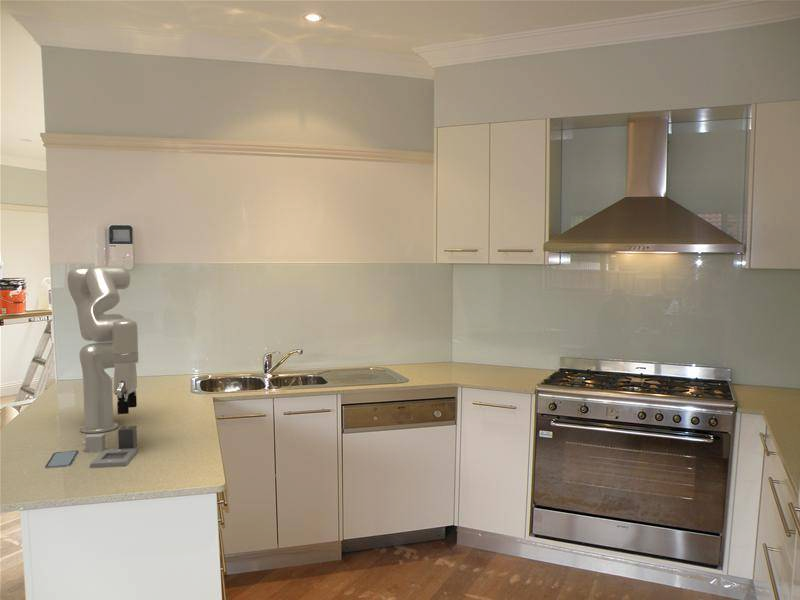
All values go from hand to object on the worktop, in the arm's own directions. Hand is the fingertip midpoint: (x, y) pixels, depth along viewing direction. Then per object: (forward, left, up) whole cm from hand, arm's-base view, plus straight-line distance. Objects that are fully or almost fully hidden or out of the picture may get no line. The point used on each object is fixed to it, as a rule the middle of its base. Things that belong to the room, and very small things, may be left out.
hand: (127, 410), depth 202 cm
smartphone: (+8, -17, -13) cm, 23 cm away
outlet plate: (+11, -1, -13) cm, 17 cm away
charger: (0, 0, -13) cm, 13 cm away
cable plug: (0, -10, -13) cm, 17 cm away
